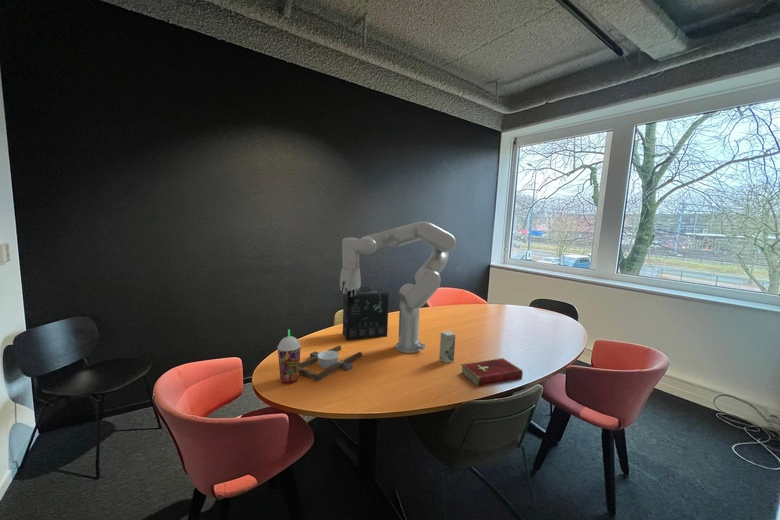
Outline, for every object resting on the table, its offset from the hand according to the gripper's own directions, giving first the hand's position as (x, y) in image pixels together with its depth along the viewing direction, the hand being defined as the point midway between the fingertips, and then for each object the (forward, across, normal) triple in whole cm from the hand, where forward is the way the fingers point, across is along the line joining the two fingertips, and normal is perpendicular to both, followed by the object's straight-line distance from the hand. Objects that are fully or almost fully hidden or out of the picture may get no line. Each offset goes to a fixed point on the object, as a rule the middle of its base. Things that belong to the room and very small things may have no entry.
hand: (351, 304), depth 148 cm
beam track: (+22, +15, 0) cm, 27 cm away
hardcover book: (+25, -13, +61) cm, 67 cm away
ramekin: (+23, +16, 0) cm, 28 cm away
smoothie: (+22, +35, -3) cm, 41 cm away
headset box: (+23, -22, -8) cm, 33 cm away
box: (+24, -16, +41) cm, 50 cm away
